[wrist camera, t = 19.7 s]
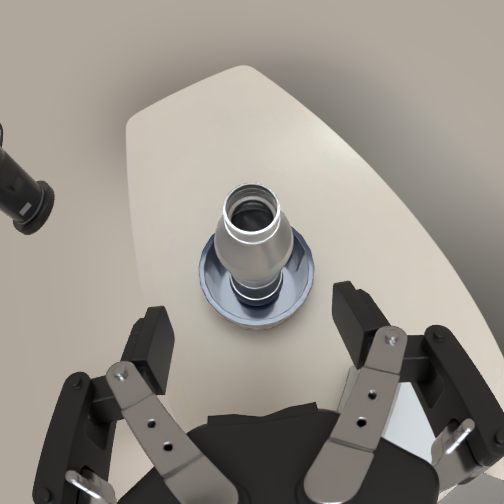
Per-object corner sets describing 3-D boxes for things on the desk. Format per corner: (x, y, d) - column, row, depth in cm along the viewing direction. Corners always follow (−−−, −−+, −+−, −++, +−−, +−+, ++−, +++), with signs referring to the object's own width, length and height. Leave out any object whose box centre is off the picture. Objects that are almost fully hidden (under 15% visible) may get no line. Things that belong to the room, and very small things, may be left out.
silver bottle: (232, 309, 35) (198, 261, 16) (231, 258, 37) (202, 167, 19) (283, 307, 35) (309, 257, 16) (280, 256, 37) (296, 162, 19)
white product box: (407, 374, 32) (476, 378, 18) (388, 434, 29) (447, 466, 15) (350, 363, 33) (404, 368, 19) (329, 427, 30) (370, 468, 16)
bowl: (193, 302, 36) (178, 291, 30) (238, 224, 40) (233, 199, 33) (278, 346, 34) (282, 345, 27) (319, 262, 38) (330, 243, 31)
